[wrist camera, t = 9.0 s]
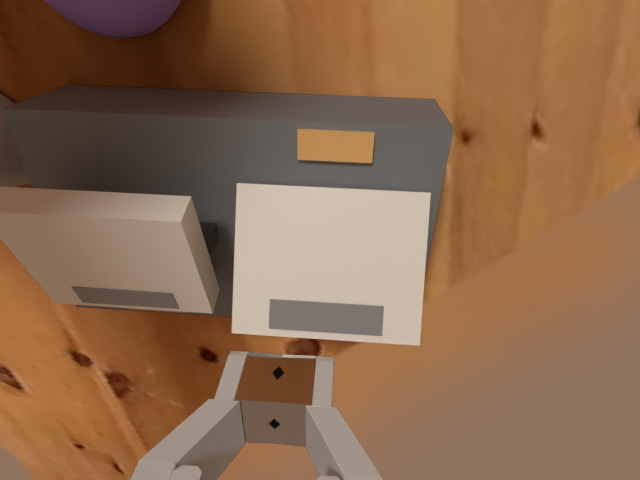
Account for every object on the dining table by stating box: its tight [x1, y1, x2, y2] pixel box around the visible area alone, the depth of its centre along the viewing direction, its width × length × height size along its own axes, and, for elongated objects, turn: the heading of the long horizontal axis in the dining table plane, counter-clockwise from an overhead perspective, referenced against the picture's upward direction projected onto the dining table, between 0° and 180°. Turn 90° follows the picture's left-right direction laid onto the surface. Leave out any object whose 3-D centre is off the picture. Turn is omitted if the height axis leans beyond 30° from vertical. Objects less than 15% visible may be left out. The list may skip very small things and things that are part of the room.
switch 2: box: [232, 183, 431, 346], centre depth 23 cm, size 8×10×2 cm
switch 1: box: [0, 186, 220, 314], centre depth 23 cm, size 8×10×2 cm
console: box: [2, 85, 454, 317], centre depth 27 cm, size 14×24×8 cm, turn 88°
